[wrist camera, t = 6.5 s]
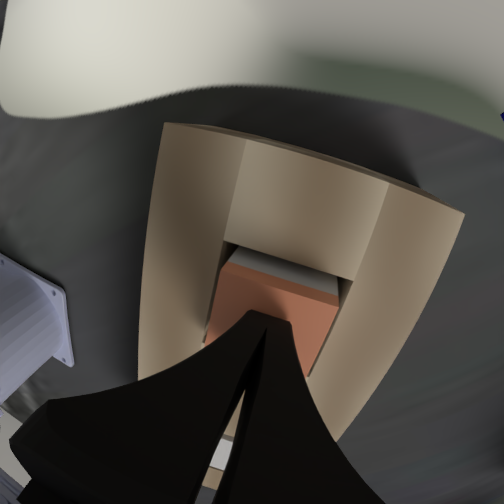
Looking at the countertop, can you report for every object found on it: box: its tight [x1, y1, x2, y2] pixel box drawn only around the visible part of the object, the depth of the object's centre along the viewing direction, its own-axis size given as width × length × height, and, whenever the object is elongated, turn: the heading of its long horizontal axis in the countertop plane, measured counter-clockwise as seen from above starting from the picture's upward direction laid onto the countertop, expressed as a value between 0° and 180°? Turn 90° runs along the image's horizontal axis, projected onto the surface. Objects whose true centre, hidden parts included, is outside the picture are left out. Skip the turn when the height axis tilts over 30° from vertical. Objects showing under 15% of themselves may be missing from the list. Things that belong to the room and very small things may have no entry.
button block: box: [138, 122, 465, 490], centre depth 15 cm, size 10×21×5 cm, turn 167°
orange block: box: [204, 245, 339, 379], centre depth 12 cm, size 4×4×5 cm
